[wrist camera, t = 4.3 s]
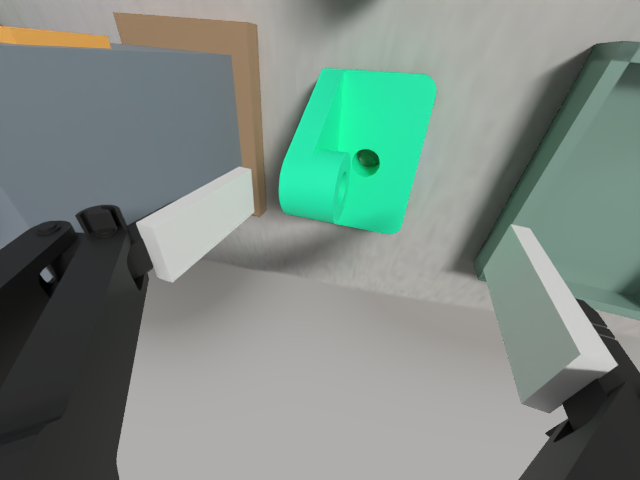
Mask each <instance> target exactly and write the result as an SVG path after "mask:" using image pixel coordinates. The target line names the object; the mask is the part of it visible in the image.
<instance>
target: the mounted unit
mask: <svg viewBox="0 0 640 480" xmlns="http://www.w3.org/2000/svg"><path fill="white" fill-rule="evenodd" d="M113 14H114V17H115V21H116V24H117V28H118V31H119V34H120V38H121V41H122V44H111V43H110V42H109V39H108V36H100V35H90V34H80V33H69V32H59V31H49V30H39V29H29V28H19V27H7V26H0V249H2V248H3V247H5V246H6V245H7V244H9V243H10V242H12V241H13V240H14V239H16V238H17V237H18V236H20V235H21V234H23V233H24V232H25V231H27V230H28V229H30V228H32V227H34V226H36V225H39V224H41V223H43V222H48V221H59V220H61V221H68V222H70V223H71V225H72V226H73V228H74V230H75V232H79V233H84V231H83V229H82V228H81V226H80V224H79V222H78V220H77V218H76V217H75V215H76V214H77V213H78V212H80V211H82V210H84V209H86V208H89V207H93V206H98V205H115V206H117V207H119V208H120V210H121V212H122V215H123V217H124V220H125V222H126V224H127V225H129V224H131V223H133V222H135V221H137V220H138V219H140V218H142V217H144V216H146V215H148V214H150V213H151V212H154V211H155V210H157V209H159V208H162V207H163V206H164V205H166V204H168V203H170V202H173V201H176V200H179V199H180V198H182V197H184V196H186V195H188V194H190V193H191V192H193V191H195V190H197V189H199V188H201V187H202V186H204V185H206V184H208V183H210V182H212V181H213V180H215V179H217V178H219V177H221V176H223V175H224V174H226V173H228V172H230V171H232V170H234V169H236V168H237V167H244V168H248V169H251V174H252V187H253V200H254V213H253V214H252V215H254V216H258V217H260V216H261V215H262V214H263V213H264V212H265V211H266V194H265V174H264V155H263V135H262V115H261V96H260V76H259V56H258V37H257V25H256V24H251V23H247V22H235V21H222V20H209V19H195V18H182V17H169V16H155V15H142V14H129V13H115V12H113ZM152 269H153V268H152ZM152 269H150V270H152ZM150 270H149V271H150ZM149 271H148V272H149ZM148 272H147V273H148ZM40 275H41V276H42V277H43V279H44V280H45V281H46V282H48V281H50V280H51V279H52V278H53V277H52V275H51V274H50V273H49V271H48V270H47V268H45V269H43V270H42V272H41V273H40Z"/></svg>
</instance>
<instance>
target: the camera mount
mask: <svg viewBox="0 0 640 480" xmlns="http://www.w3.org/2000/svg"><path fill="white" fill-rule="evenodd" d="M435 97H436V85H435V82H434V81H433V79H432V78H431V77H430V76H428V75H426V74H418V73H401V72H384V71H367V70H350V69H333V68H325V69H322V71H321V73H320V76H319V78H318V81H317V83H316V85H315V88H314V90H313V92H312V95H311V97H310V100H309V102H308V104H307V107H306V109H305V111H304V114H303V116H302V118H301V121H300V123H299V126H298V128H297V130H296V133H295V135H294V137H293V140H292V142H291V144H290V147H289V149H288V152H287V154H286V156H285V159H284V161H283V165H282V168H281V173H280V179H279V201H280V205H281V208H282V210H283V212H284V213H285V214H288V215H293V216H298V217H303V218H308V219H313V220H318V221H323V222H328V223H333V224H339V225H344V226H349V227H354V228H359V229H364V230H369V231H374V232H379V233H384V234H394V233H396V232H398V231H399V230H400V228H401V226H402V222H403V219H404V215H405V211H406V207H407V203H408V200H409V196H410V192H411V188H412V184H413V181H414V177H415V173H416V169H417V165H418V162H419V158H420V154H421V150H422V146H423V143H424V139H425V135H426V131H427V127H428V124H429V120H430V116H431V112H432V108H433V105H434V101H435ZM363 149H369V150H372V151H374V152H375V153H376V154H377V155H378V157H379V160H380V163H379V164H378V165H377V166H374V167H366V166H364V165H362V164H361V163H360V161H359V159H358V151H360V150H363Z"/></svg>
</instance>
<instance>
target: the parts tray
mask: <svg viewBox="0 0 640 480" xmlns="http://www.w3.org/2000/svg"><path fill="white" fill-rule="evenodd" d="M510 224H512V225H517V226H522V227H527V228H530V229H531V231H532V232H533V234H534V236H535V237H536V239H537V240H538V242H539V243H540V245H541V246H542V248H543V249H544V251H545V253H546V254H547V256H548V257H549V259H550V260H551V262H552V263H553V265H554V267H555V268H556V270H557V271H558V273H559V274H560V276H561V277H562V279H563V281H564V282H565V284H566V285H567V287H568V288H569V290H570V291H571V293H572V295H573V296H574V298H576V299H580V300H584V301H585V302H586V303H587V304H588V305H589V306H590V307H591V308H593V309H596V310H600V311H604V312H608V313H612V314H616V315H620V316H624V317H628V318H632V319H636V320H640V42H630V41H619V42H610V43H600V44H596V45H595V47H594V49H593V51H592V52H591V54H590V56H589V58H588V59H587V61H586V63H585V65H584V67H583V68H582V70H581V72H580V74H579V75H578V77H577V79H576V81H575V83H574V84H573V86H572V88H571V90H570V91H569V93H568V95H567V97H566V99H565V100H564V102H563V104H562V106H561V107H560V109H559V111H558V113H557V115H556V116H555V118H554V120H553V122H552V124H551V125H550V127H549V129H548V131H547V132H546V134H545V136H544V138H543V140H542V141H541V143H540V145H539V147H538V148H537V150H536V152H535V154H534V156H533V157H532V159H531V161H530V163H529V164H528V166H527V168H526V170H525V172H524V173H523V175H522V177H521V179H520V180H519V182H518V184H517V186H516V188H515V189H514V191H513V193H512V195H511V196H510V198H509V200H508V202H507V204H506V205H505V207H504V209H503V211H502V212H501V214H500V216H499V218H498V220H497V221H496V223H495V225H494V227H493V228H492V230H491V232H490V234H489V236H488V237H487V239H486V241H485V243H484V244H483V246H482V248H481V250H480V252H479V253H478V255H477V257H476V259H475V260H474V262H473V263H474V267H475V270H476V274H477V278H478V280H481V281H485V282H486V278H485V274H484V271H483V269H484V268H485V266H486V264H487V263H488V261H489V259H490V258H491V256H492V254H493V253H494V251H495V249H496V248H497V246H498V244H499V243H500V241H501V239H502V238H503V236H504V234H505V233H506V231H507V229H508V228H509V226H510Z"/></svg>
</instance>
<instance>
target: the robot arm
mask: <svg viewBox="0 0 640 480" xmlns="http://www.w3.org/2000/svg"><path fill="white" fill-rule="evenodd" d="M0 26H2V25H0ZM253 213H254V200H253V187H252V174H251V169H248V168H244V167H237V168H236V169H234V170H232V171H230V172H228V173H226V174H224V175H223V176H221V177H219V178H217V179H215V180H213V181H212V182H210V183H208V184H206V185H204V186H202V187H201V188H199V189H197V190H195V191H193V192H191V193H190V194H188V195H186V196H184V197H182V198H180V199H179V200H176V201H173V202H170V203H168V204H166V205H164V206H163V207H162V208H159V209H157V210H155V211H154V212H151V213H150V214H148V215H146V216H144V217H142V218H140V219H138V220H137V221H135V222H133V223H131V224H129V225H127V224H126V222H125V220H124V217H123V215H122V212H121V210H120V208H119V207H117V206H115V205H98V206H93V207H89V208H86V209H84V210H82V211H80V212H78V213H77V214H76V215H75V217H76V218H77V220H78V222H79V224H80V226H81V228H82V229H83V231H84V233H79V232H75V230H74V228H73V226H72V225H71V223H70V222H68V221H61V220H59V221H48V222H43V223H41V224H39V225H36V226H34V227H32V228H30V229H28V230H27V231H25V232H24V233H23V234H21V235H20V236H18V237H17V238H16V239H14V240H13V241H12V242H10V243H9V244H7V245H6V246H5V247H3V248H2V249H0V480H119V475H118V470H117V465H116V458H117V449H118V444H119V439H120V434H121V427H122V423H123V417H124V412H125V406H126V401H127V395H128V390H129V385H130V379H131V373H132V368H133V363H134V357H135V351H136V346H137V341H138V335H139V329H140V324H141V318H142V313H143V307H144V302H145V297H146V291H147V286H148V281H149V278H148V274H147V272H148V271H149V270H150V269H152V268H154V270H155V273H156V275H157V278H159V279H163V280H165V281H168V282H171V283H173V282H174V281H175V280H176V279H177V278H179V277H180V276H181V275H182V274H183V273H184V272H185V271H187V270H188V269H189V268H190V267H191V266H193V265H194V264H195V263H196V262H197V261H198V260H200V259H201V258H202V257H203V256H204V255H205V254H207V253H208V252H209V251H210V250H211V249H212V248H213V247H215V246H216V245H217V244H218V243H219V242H220V241H222V240H223V239H224V238H225V237H226V236H227V235H229V234H230V233H231V232H232V231H233V230H234V229H236V228H237V227H238V226H239V225H240V224H241V223H243V222H244V221H245V220H246V219H247V218H248V217H249V216H251V215H252V214H253ZM45 268H47V270H48V271H49V273H50V274H51V275H52V277H53V278H52V279H51V280H50V281H48V282H46V281H45V280H44V279H43V277H42V276H41V275H40V273H41V272H42V270H43V269H45ZM483 271H484V274H485V278H486V282H487V285H488V289H489V292H490V296H491V299H492V303H493V306H494V310H495V313H496V317H497V320H498V324H499V327H500V331H501V334H502V337H503V341H504V344H505V348H506V352H507V355H508V359H509V362H510V366H511V369H512V373H513V376H514V380H515V383H516V387H517V390H518V394H519V397H520V401H521V403H522V404H524V405H527V406H529V407H532V408H535V409H538V410H541V411H544V412H547V413H551V412H552V411H554V410H555V409H556V408H558V407H559V406H561V405H562V404H563V407H564V409H565V411H566V414H567V416H568V419H567V420H565V421H564V422H562V423H560V424H559V425H557V426H556V427H554V428H552V429H551V430H549V431H548V432H546V433H545V434H546V435H548V436H549V437H550V436H551V437H550V438H549V440H548V441H547V442H546V443H545V445H544V446H543V448H542V449H541V450H540V452H539V453H538V454H537V456H536V457H535V458H534V460H533V461H532V462H531V464H530V465H529V466H528V468H527V469H526V470H525V472H524V473H523V474H522V476H521V477H520V478H519V480H640V373H639V371H638V370H637V368H636V367H635V365H634V364H633V363H632V361H631V360H630V358H629V357H628V355H627V354H626V353H625V351H624V350H623V348H622V347H621V345H620V344H619V342H618V341H616V340H615V337H614V335H613V334H612V332H611V331H610V330H609V329H607V325H606V324H605V322H604V321H603V320H602V318H601V317H600V315H599V314H598V313H597V312H596V311H595V310H594V309H593V308H591V307H590V306H589V305H588V304H587V303H586V302H585V301H584V300H580V299H576V298H574V296H573V295H572V293H571V291H570V290H569V288H568V287H567V285H566V284H565V282H564V281H563V279H562V277H561V276H560V274H559V273H558V271H557V270H556V268H555V267H554V265H553V263H552V262H551V260H550V259H549V257H548V256H547V254H546V253H545V251H544V249H543V248H542V246H541V245H540V243H539V242H538V240H537V239H536V237H535V236H534V234H533V232H532V231H531V229H530V228H527V227H522V226H517V225H512V224H510V226H509V228H508V229H507V231H506V233H505V234H504V236H503V238H502V239H501V241H500V243H499V244H498V246H497V248H496V249H495V251H494V253H493V254H492V256H491V258H490V259H489V261H488V263H487V264H486V266H485V268H484V269H483Z"/></svg>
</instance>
